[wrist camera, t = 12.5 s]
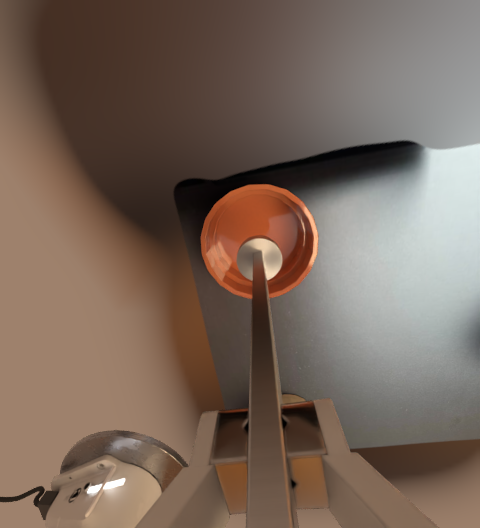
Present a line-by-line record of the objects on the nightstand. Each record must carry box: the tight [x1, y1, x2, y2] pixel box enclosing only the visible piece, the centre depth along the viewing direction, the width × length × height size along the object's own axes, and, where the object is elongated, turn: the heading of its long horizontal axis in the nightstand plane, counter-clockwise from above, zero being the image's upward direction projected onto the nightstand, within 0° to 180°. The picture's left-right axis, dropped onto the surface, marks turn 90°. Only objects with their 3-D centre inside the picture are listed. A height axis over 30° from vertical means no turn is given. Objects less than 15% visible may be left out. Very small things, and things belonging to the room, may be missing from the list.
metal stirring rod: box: [237, 235, 299, 528], centre depth 15 cm, size 4×4×24 cm
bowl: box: [201, 184, 318, 299], centre depth 34 cm, size 14×14×6 cm
